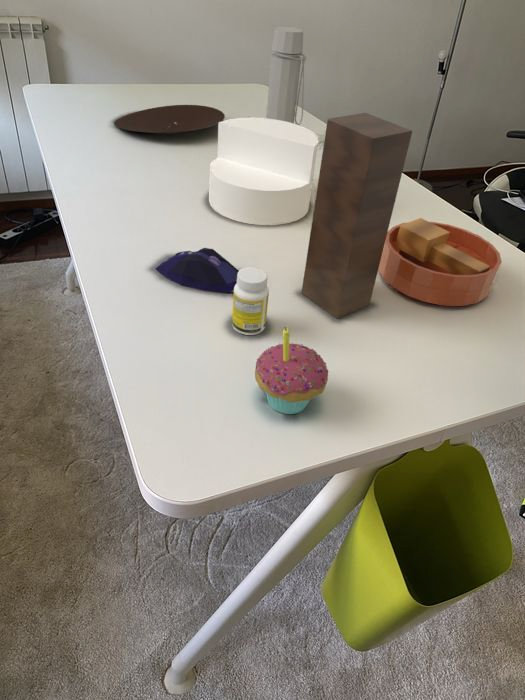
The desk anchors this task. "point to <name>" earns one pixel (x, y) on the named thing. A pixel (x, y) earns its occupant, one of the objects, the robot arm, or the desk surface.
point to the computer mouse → (200, 270)
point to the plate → (171, 119)
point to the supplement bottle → (250, 301)
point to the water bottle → (285, 74)
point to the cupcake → (290, 375)
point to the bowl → (440, 270)
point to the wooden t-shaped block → (436, 248)
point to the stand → (353, 210)
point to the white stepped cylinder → (262, 171)
